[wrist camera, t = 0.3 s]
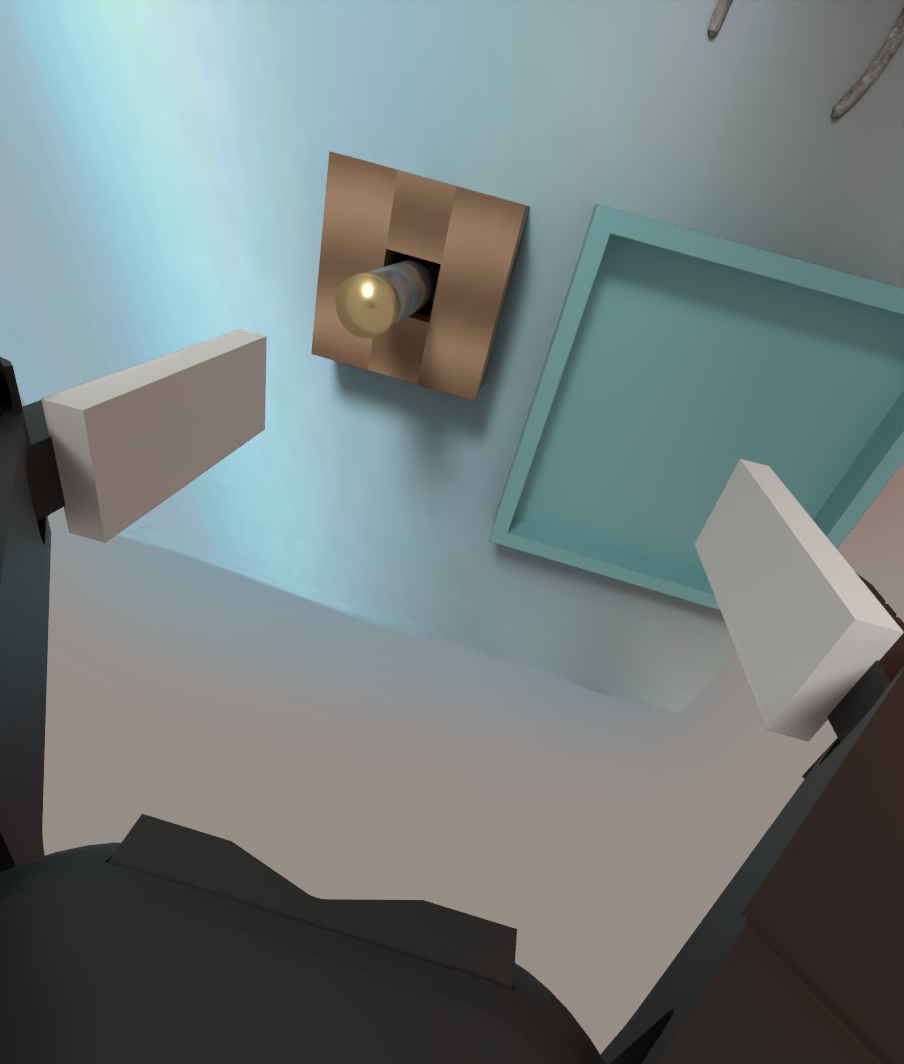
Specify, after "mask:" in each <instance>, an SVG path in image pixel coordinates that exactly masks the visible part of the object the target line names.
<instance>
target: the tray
mask: <svg viewBox="0 0 904 1064" xmlns="http://www.w3.org/2000/svg"><path fill="white" fill-rule="evenodd" d="M740 459H743V460H747V461H751V462H755V463H759V464H763V465H766V466H769V467H770V468H771V469H772V470H773V472H774V473H775V474H776V475H777V476H778V478H779V479H780V480H781V481H782V483H783V484H784V485H785V486H786V488H787V489H788V490H789V491H790V492H791V494H792V495H793V496H794V497H795V499H796V500H797V501H798V502H799V504H800V505H801V506H802V507H803V508H804V510H805V511H806V512H807V513H808V515H809V516H810V517H811V518H812V520H813V521H814V522H815V523H816V524H817V526H818V527H819V528H820V529H821V531H822V532H823V533H824V534H825V536H826V537H827V538H828V539H829V541H830V542H831V543H832V544H833V545H834V547H835V548H836V549H838V547H839V546H840V544H841V543H842V542H843V541H844V539H845V538H846V537H847V535H848V534H849V533H850V531H851V530H852V529H853V527H854V526H855V525H856V523H857V522H858V521H859V519H860V518H861V517H862V515H863V514H864V513H865V511H866V510H867V509H868V507H869V506H870V505H871V503H872V502H873V501H874V499H875V498H876V497H877V495H878V494H879V493H880V492H881V490H882V489H883V488H884V486H885V485H886V484H887V482H888V481H889V479H890V478H891V477H892V476H893V474H894V473H895V471H896V470H897V469H898V468H899V466H900V465H901V464H902V462H903V461H904V289H903V288H900V287H896V286H892V285H889V284H885V283H881V282H878V281H874V280H870V279H867V278H863V277H860V276H856V275H852V274H849V273H845V272H841V271H838V270H834V269H831V268H827V267H823V266H820V265H816V264H812V263H809V262H805V261H801V260H798V259H794V258H791V257H787V256H783V255H780V254H776V253H772V252H769V251H765V250H761V249H758V248H754V247H751V246H747V245H743V244H740V243H736V242H732V241H729V240H725V239H722V238H718V237H714V236H711V235H707V234H703V233H700V232H696V231H692V230H689V229H685V228H682V227H678V226H674V225H671V224H667V223H663V222H660V221H656V220H652V219H649V218H645V217H642V216H638V215H634V214H631V213H627V212H623V211H620V210H616V209H613V208H609V207H605V206H602V205H595V208H594V211H593V214H592V217H591V220H590V224H589V227H588V230H587V233H586V236H585V239H584V242H583V245H582V248H581V252H580V255H579V258H578V261H577V264H576V267H575V270H574V273H573V276H572V279H571V283H570V286H569V289H568V292H567V295H566V298H565V301H564V304H563V307H562V311H561V314H560V317H559V320H558V323H557V326H556V329H555V332H554V335H553V338H552V342H551V345H550V348H549V351H548V354H547V357H546V360H545V363H544V366H543V370H542V373H541V376H540V379H539V382H538V385H537V388H536V391H535V394H534V397H533V401H532V404H531V407H530V410H529V413H528V416H527V419H526V422H525V425H524V429H523V432H522V435H521V438H520V441H519V444H518V447H517V450H516V453H515V456H514V460H513V463H512V466H511V469H510V472H509V475H508V478H507V481H506V484H505V488H504V491H503V494H502V497H501V500H500V503H499V506H498V509H497V512H496V515H495V519H494V522H493V526H492V531H491V535H490V539H489V541H490V542H494V543H497V544H500V545H504V546H507V547H510V548H514V549H517V550H520V551H524V552H527V553H531V554H534V555H537V556H541V557H544V558H547V559H551V560H554V561H557V562H561V563H564V564H567V565H571V566H574V567H577V568H581V569H584V570H587V571H591V572H594V573H597V574H601V575H604V576H607V577H611V578H614V579H618V580H621V581H624V582H628V583H631V584H634V585H638V586H641V587H644V588H648V589H651V590H654V591H658V592H661V593H664V594H668V595H671V596H674V597H678V598H681V599H684V600H688V601H691V602H694V603H698V604H701V605H705V606H708V607H711V608H715V609H718V610H720V608H719V605H718V603H717V600H716V598H715V595H714V593H713V590H712V588H711V585H710V582H709V580H708V577H707V575H706V572H705V570H704V567H703V565H702V562H701V560H700V557H699V554H698V552H697V549H696V547H695V543H696V541H697V539H698V537H699V535H700V533H701V531H702V530H703V528H704V526H705V524H706V522H707V520H708V518H709V516H710V515H711V513H712V511H713V509H714V507H715V505H716V503H717V501H718V500H719V498H720V496H721V494H722V492H723V490H724V488H725V486H726V485H727V483H728V481H729V479H730V477H731V475H732V473H733V471H734V470H735V468H736V466H737V464H738V462H739V460H740Z"/></svg>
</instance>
